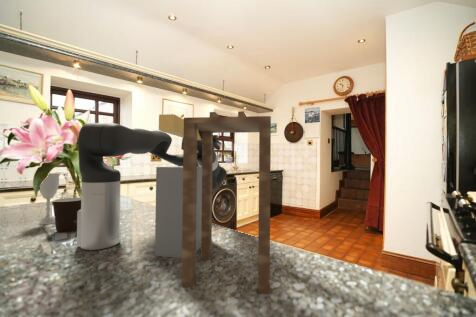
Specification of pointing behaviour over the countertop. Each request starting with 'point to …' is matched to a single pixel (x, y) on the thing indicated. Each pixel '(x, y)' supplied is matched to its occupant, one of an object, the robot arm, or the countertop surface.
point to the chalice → (49, 195)
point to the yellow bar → (173, 125)
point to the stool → (190, 189)
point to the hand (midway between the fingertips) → (193, 128)
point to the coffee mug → (66, 214)
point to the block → (173, 211)
